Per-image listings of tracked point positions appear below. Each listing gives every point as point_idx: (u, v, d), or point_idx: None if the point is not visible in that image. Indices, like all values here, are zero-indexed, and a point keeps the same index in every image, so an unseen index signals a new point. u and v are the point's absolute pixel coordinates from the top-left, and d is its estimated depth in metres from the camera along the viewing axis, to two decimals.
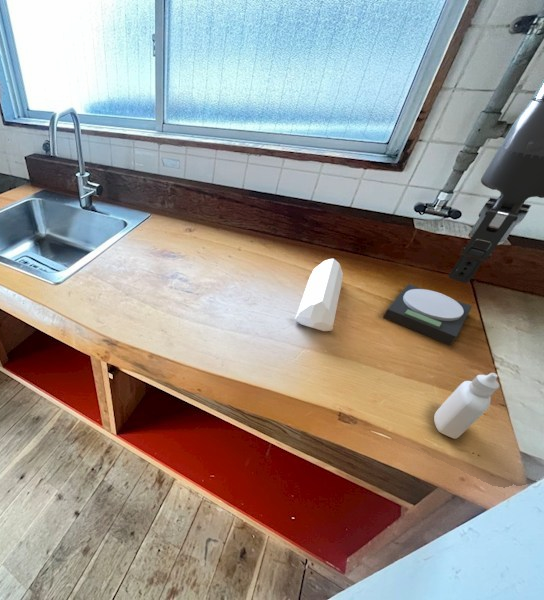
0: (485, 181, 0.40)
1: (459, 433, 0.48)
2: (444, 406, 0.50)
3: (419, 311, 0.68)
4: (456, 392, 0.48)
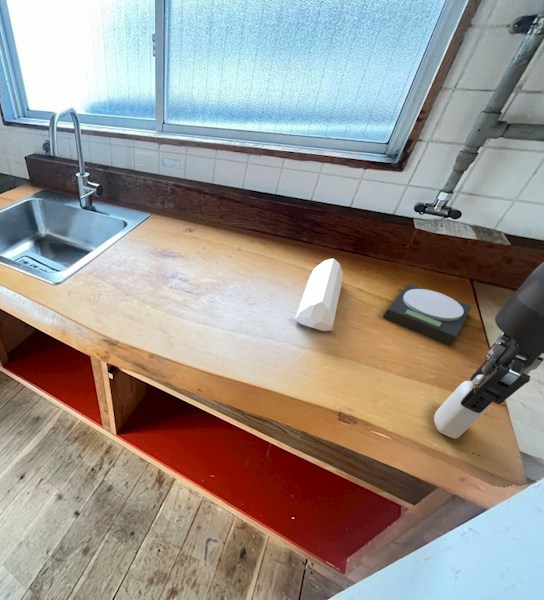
0: (499, 325, 0.39)
1: (459, 433, 0.48)
2: (444, 406, 0.50)
3: (419, 311, 0.68)
4: (456, 392, 0.48)
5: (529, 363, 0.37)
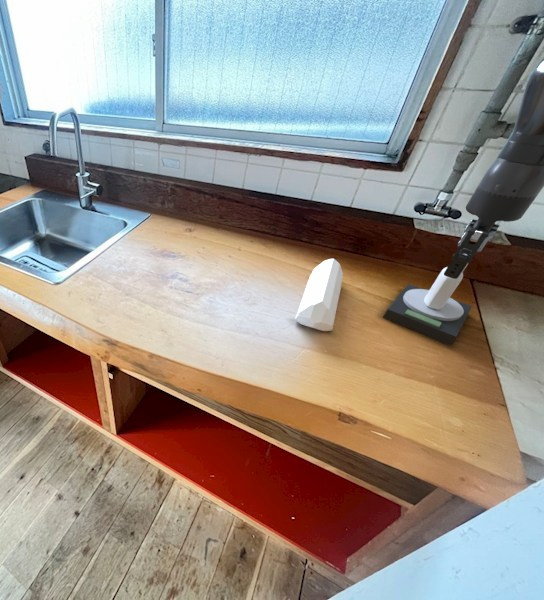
0: (468, 209, 0.58)
1: (441, 304, 0.67)
2: (431, 288, 0.68)
3: (419, 311, 0.68)
4: (439, 274, 0.67)
5: (486, 230, 0.56)
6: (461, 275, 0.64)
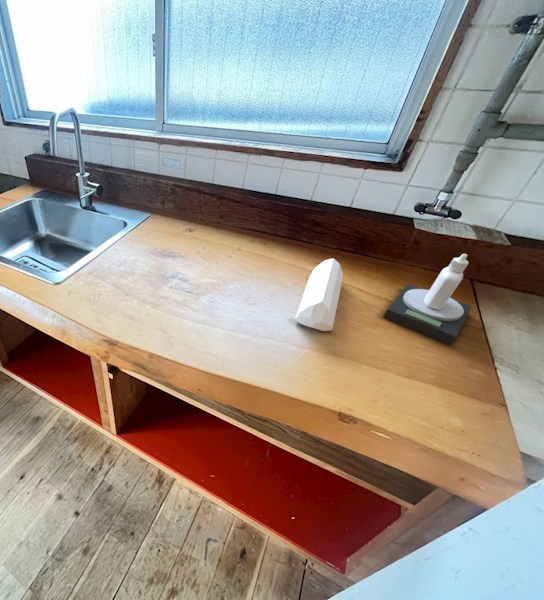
0: None
1: (441, 304, 0.67)
2: (431, 288, 0.68)
3: (419, 311, 0.68)
4: (439, 274, 0.67)
5: None
6: (461, 275, 0.64)
